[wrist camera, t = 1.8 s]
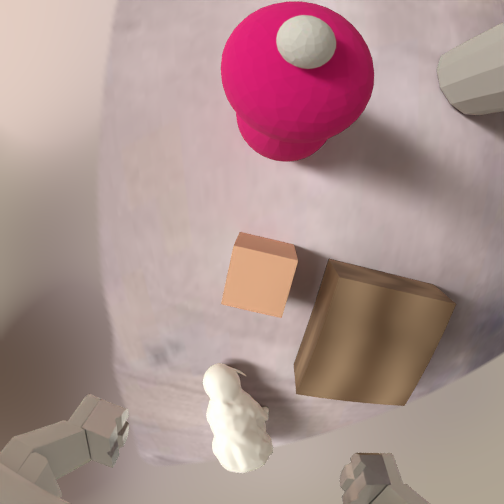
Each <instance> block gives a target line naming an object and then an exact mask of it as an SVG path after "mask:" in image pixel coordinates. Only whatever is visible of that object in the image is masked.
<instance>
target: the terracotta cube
mask: <svg viewBox="0 0 504 504" xmlns="http://www.w3.org/2000/svg"><path fill="white" fill-rule="evenodd" d="M297 263H298V258H297V255H296V251H295V247H294V245H293V244H289V243H285V242H280V241H276V240H272V239H268V238H264V237H259V236H255V235H251V234H247V233H242V232H240V233H239V235H238V237H237V239H236V242H235V244H234V247H233V251H232V256H231V261H230V265H229V270H228V274H227V279H226V284H225V288H224V293H223V298H222V303H221V304H223V305H227V306H231V307H236V308H240V309H244V310H248V311H253V312H257V313H262V314H266V315H271V316H275V317H280V318H282V315H283V311H284V308H285V304H286V301H287V298H288V294H289V291H290V287H291V284H292V280H293V277H294V273H295V270H296V266H297Z"/></svg>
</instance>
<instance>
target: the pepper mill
mask: <svg viewBox="0 0 504 504" xmlns="http://www.w3.org/2000/svg"><path fill="white" fill-rule="evenodd" d="M221 76H222V84H223V88H224V91H225V94H226V96H227V99H228V101H229V102H230V104H231V106H232V107H233V109H234V110H235V111H236V116H237V123H238V127H239V130H240V132H241V134H242V136H243V138H244V140H245V141H246V142H247V143H248V145H249V146H250V147H251V148H252V149H253V150H255V151H256V152H257V153H259V154H260V155H262V156H264V157H267V158H269V159H273V160H276V161H296V160H300V159H303V158H306V157H308V156H310V155H312V154H313V153H315V152H316V151H317V150H319V149H320V147H321V146H322V145H323V144H324V143H325V142H326V140H327V139H328V138H330V137H332V136H335V135H337V134H339V133H341V132H342V131H343V130H345V129H346V128H348V127H349V126H350V125H351V124H352V123H353V122H355V121H356V120H357V119H358V117H359V116H360V115H361V113H362V112H363V111H364V109H365V107H366V105H367V103H368V101H369V99H370V97H371V94H372V90H373V86H374V68H373V61H372V57H371V54H370V51H369V49H368V46H367V44H366V43H365V41H364V39H363V37H362V36H361V35H360V33H359V32H358V31H357V30H356V29H355V27H354V26H353V25H352V24H351V23H350V22H348V21H347V20H346V19H345V18H344V17H342V16H341V15H339V14H338V13H336V12H334V11H332V10H330V9H328V8H326V7H323V6H320V5H317V4H313V3H307V2H283V3H277V4H272V5H269V6H266V7H263V8H261V9H259V10H257V11H255V12H254V13H252V14H250V15H249V16H248V17H246V18H245V19H244V20H243V21H242V22H241V23H240V24H239V25H238V26H237V27H236V28H235V29H234V31H233V32H232V34H231V35H230V37H229V39H228V40H227V42H226V45H225V48H224V51H223V54H222V62H221Z"/></svg>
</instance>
